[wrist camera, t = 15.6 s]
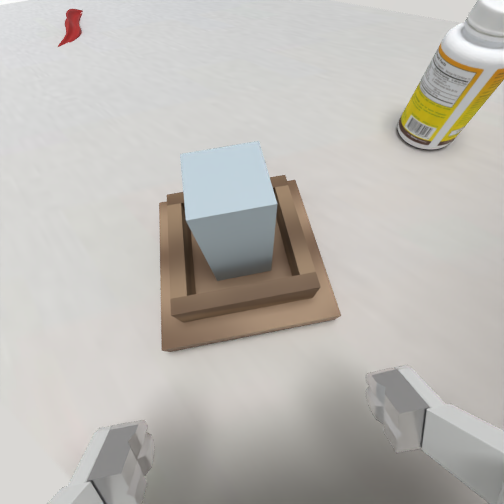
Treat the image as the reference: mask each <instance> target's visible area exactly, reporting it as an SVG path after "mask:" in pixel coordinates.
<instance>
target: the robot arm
mask: <svg viewBox="0 0 504 504" xmlns="http://www.w3.org/2000/svg"><path fill="white" fill-rule="evenodd" d="M366 382H367V384H368V385H369V387H368V388H367V389H366V399H367V402H368V406H369V408H370V410H371V412H372V414H373V416H374V417H375V419H376V420H377V421H379V422H380V423H382V424H383V425H384V429H383V432H384V434H385V436H386V437H387V439H388V441H389V442H390V444H391V446H392V447H393V449H394V450H395V452H396V453H400V452H406V451H411V450H416V449H422V451H423V452H425V453H426V454H427V455H428V456H430V457H431V458H432V459H434V460H435V461H436V462H437V463H439V464H440V465H441V466H442V467H444V468H445V469H446V470H448V471H449V472H450V473H451V474H453V475H454V476H455V477H456V478H458V479H459V480H460V481H461V482H463V483H464V484H465V485H467V486H468V487H469V488H470V489H472V490H473V491H474V492H475V493H477V494H478V495H479V496H481V497H482V498H483V499H484V500H486V501H487V502H488V503H489V504H504V430H502V429H500V428H498V427H496V426H494V425H492V424H490V423H488V422H486V421H484V420H482V419H480V418H478V417H476V416H474V415H472V414H470V413H468V412H466V411H464V410H462V409H460V408H458V407H456V406H455V405H453V404H446V403H445V402H444V401H443V400H442V399H441V398H440V397H439V396H438V395H437V394H436V393H435V392H434V391H433V390H432V389H431V388H430V386H429V385H428V384H427V383H426V382H425V381H424V380H423V379H422V378H421V377H420V376H419V375H418V374H417V373H416V372H415V371H414V370H413V369H412V368H411V367H410V366H408V365H404V366H399V367H394V368H388V369H384V370H379V371H375V372H370V373H367V375H366ZM147 428H148V425H147V423H146V421H145V420H140V421H134V422H129V423H123V424H117V425H112V426H107V427H102V428H99V429H98V430H97V431H96V432H95V433H94V435H93V437H92V439H91V441H90V443H89V445H88V447H87V449H86V451H85V453H84V455H83V457H82V459H81V461H80V463H79V464H78V466H77V468H76V470H75V472H74V474H73V476H72V478H71V480H70V482H69V484H68V486H66V487H63V488H61V490H60V491H59V492H58V493H57V494H56V495H55V496H54V497H53V498H52V499H51V500H50V501H49V502H48V503H47V504H142V503H143V499H144V495H145V491H146V487H147V481H146V478H145V476H146V474H147V473H148V471H149V470H150V469H151V467H152V463H153V459H154V449H155V446H154V440H153V437H152V435H151V434H149V433H147V432H146V431H147Z"/></svg>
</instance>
